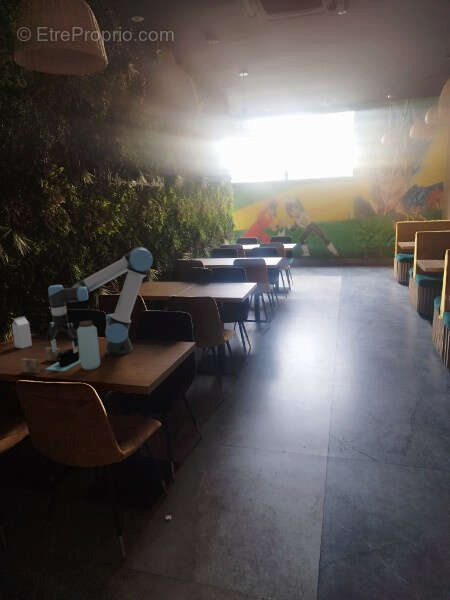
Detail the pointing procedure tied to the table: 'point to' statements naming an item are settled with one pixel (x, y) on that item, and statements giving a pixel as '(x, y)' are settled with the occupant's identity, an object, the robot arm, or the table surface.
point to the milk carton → (21, 332)
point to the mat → (63, 369)
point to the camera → (67, 357)
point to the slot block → (32, 364)
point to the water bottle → (88, 345)
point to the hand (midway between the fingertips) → (65, 351)
